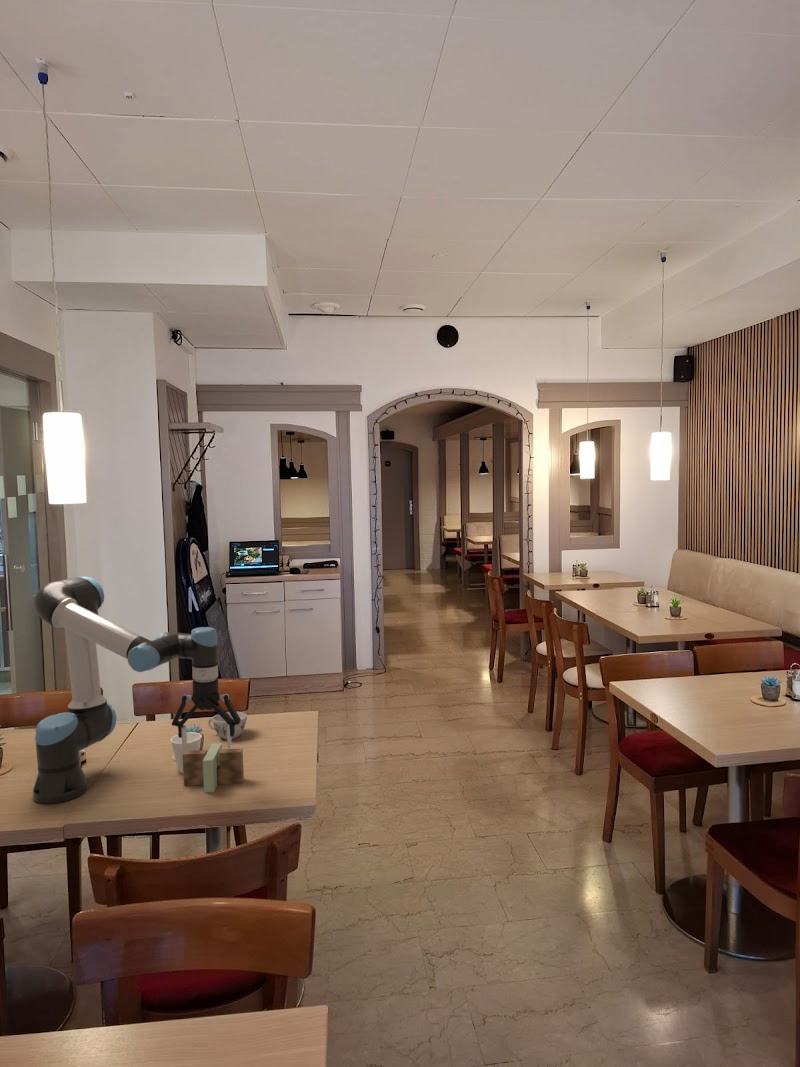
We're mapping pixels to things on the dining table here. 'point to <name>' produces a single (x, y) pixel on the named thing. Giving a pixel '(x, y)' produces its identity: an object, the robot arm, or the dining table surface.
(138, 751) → the dining table surface
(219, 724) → the teacup
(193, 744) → the cup
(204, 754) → the walnut board
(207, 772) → the green board
